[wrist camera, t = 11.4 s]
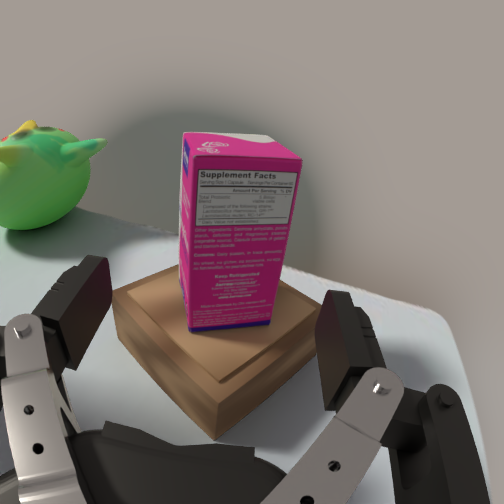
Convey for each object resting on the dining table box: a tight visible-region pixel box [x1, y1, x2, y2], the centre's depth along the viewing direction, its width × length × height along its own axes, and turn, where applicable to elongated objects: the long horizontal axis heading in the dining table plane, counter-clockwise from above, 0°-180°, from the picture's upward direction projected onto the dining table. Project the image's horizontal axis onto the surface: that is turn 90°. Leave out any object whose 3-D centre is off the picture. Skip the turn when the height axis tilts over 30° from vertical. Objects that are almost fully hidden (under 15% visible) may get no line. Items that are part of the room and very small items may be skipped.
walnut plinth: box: [112, 264, 322, 440], centre depth 24 cm, size 12×12×5 cm
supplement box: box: [179, 132, 303, 332], centre depth 20 cm, size 6×6×12 cm
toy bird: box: [0, 120, 108, 230], centre depth 35 cm, size 18×17×15 cm
